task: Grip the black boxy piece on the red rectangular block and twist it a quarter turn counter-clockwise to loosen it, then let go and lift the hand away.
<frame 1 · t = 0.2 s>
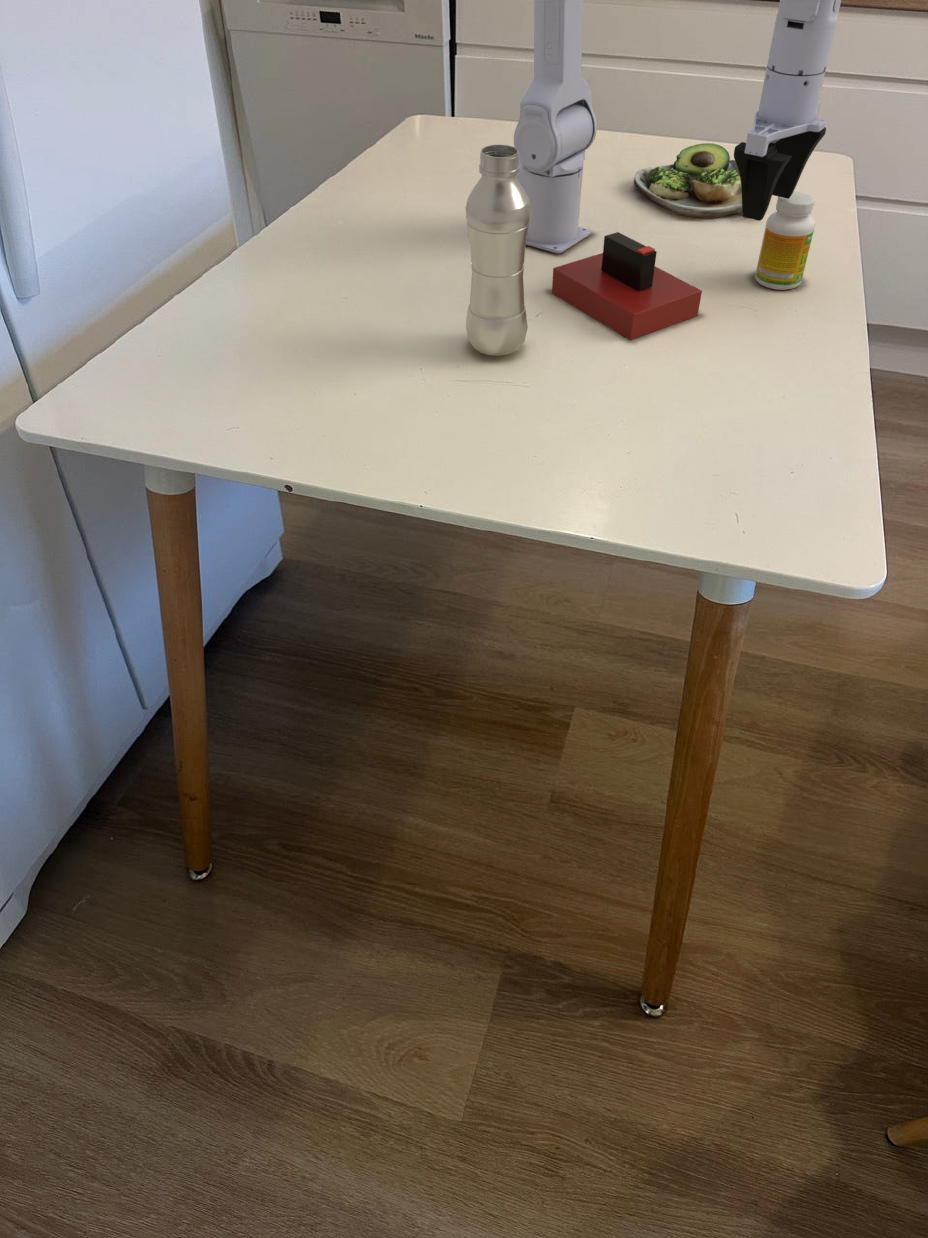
hand: (767, 206, 106), 10 cm above the table, tool pointing down, fingers open, 7 cm apart
black boxy piece: (628, 260, 107), point 5 cm above the table, hinge at 0.0°
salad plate: (699, 194, 135), on the table
supplement bottle: (777, 282, 115), on the table
red rectangular block: (623, 304, 111), on the table
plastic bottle: (496, 349, 104), on the table
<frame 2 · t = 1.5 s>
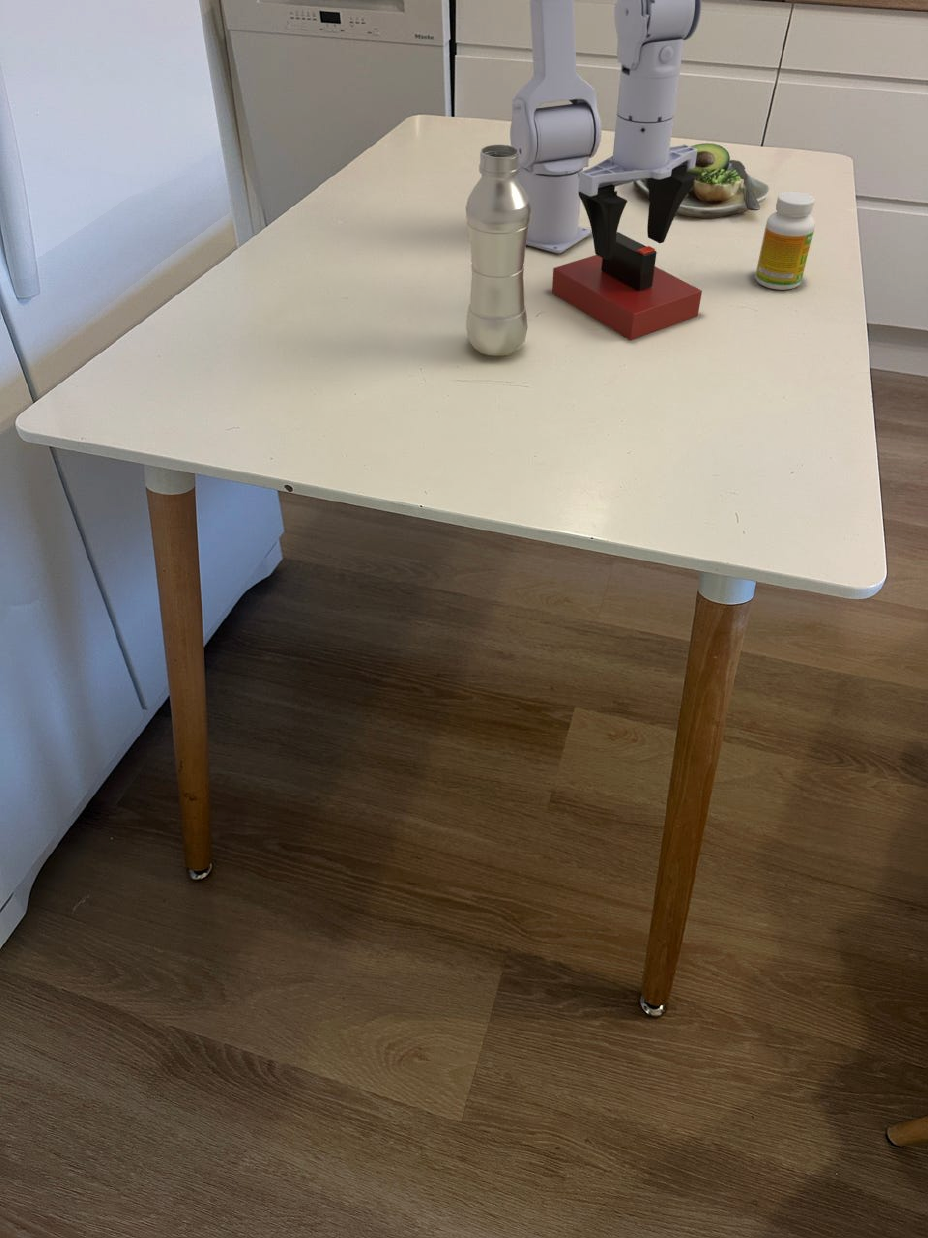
hand: (629, 247, 106), 7 cm above the table, tool pointing down, fingers open, 7 cm apart
nothing on the table moved.
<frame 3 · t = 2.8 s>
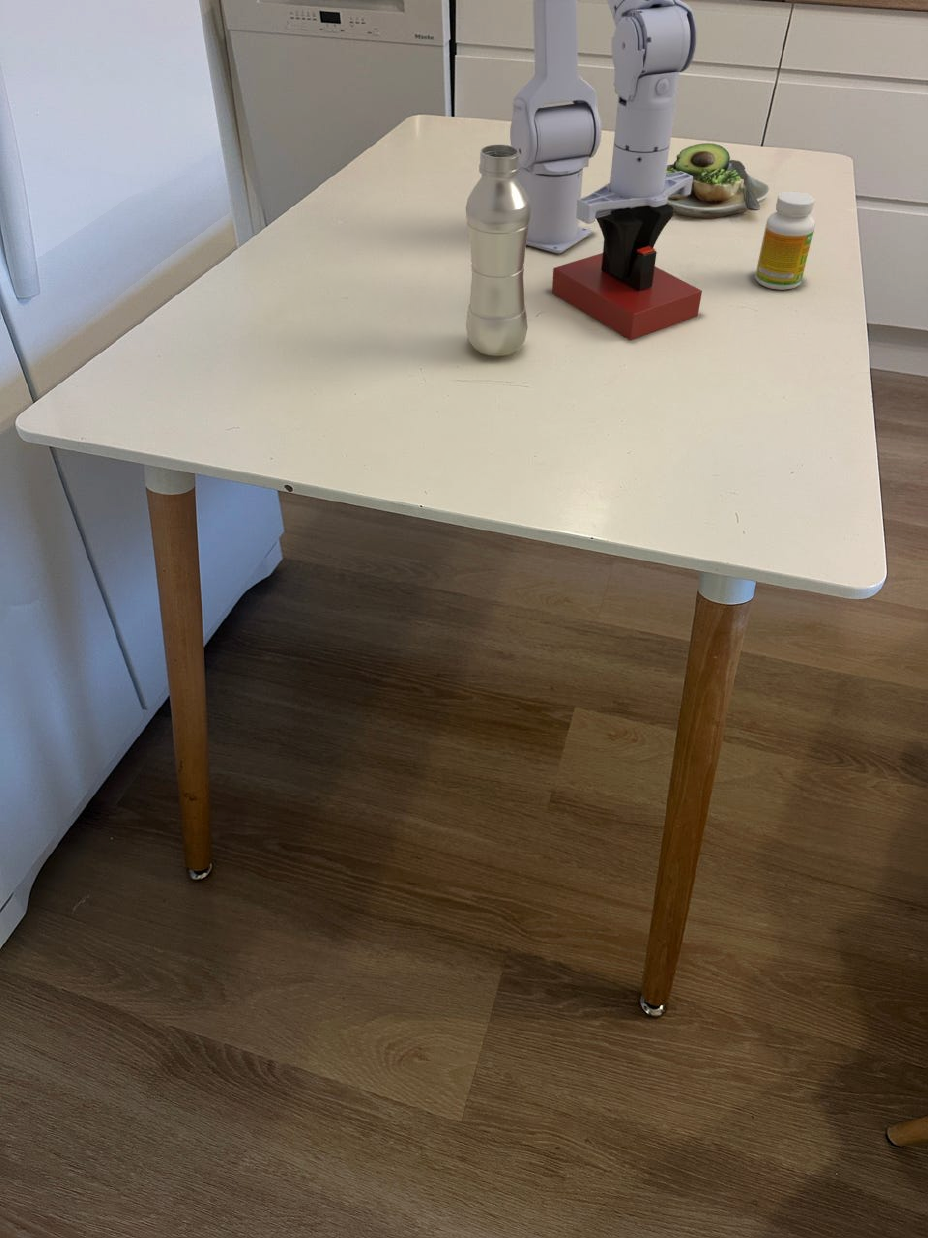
hand: (626, 271, 108), 4 cm above the table, tool pointing down, fingers closed on black boxy piece, 2 cm apart
black boxy piece: (628, 260, 107), point 5 cm above the table, hinge at 0.0°, touching gripper
everything else where it was.
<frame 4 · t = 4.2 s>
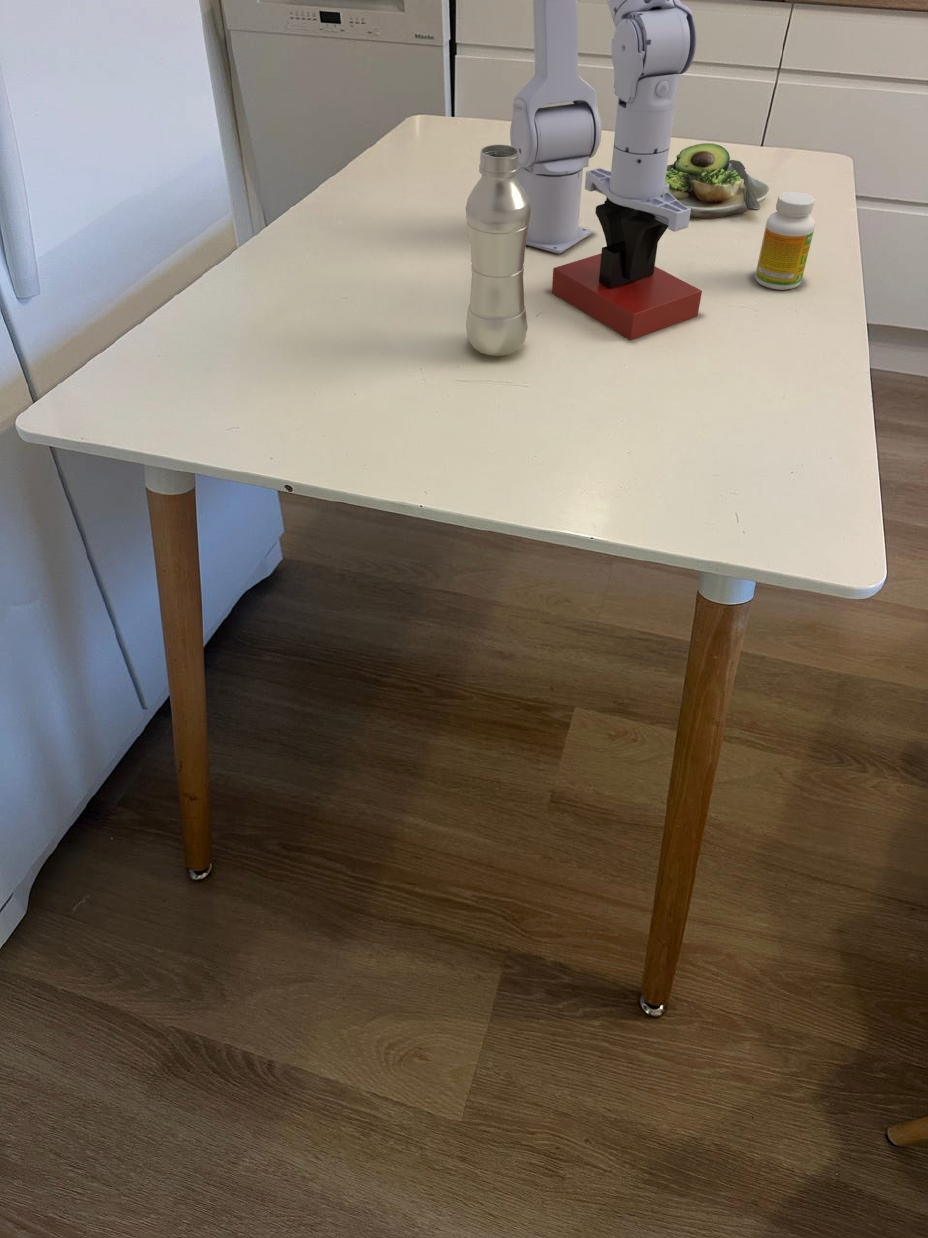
hand: (626, 273, 108), 4 cm above the table, tool pointing down, fingers closed on black boxy piece, 2 cm apart
black boxy piece: (628, 260, 107), point 5 cm above the table, hinge at 90.0°, touching gripper
everything else where it was.
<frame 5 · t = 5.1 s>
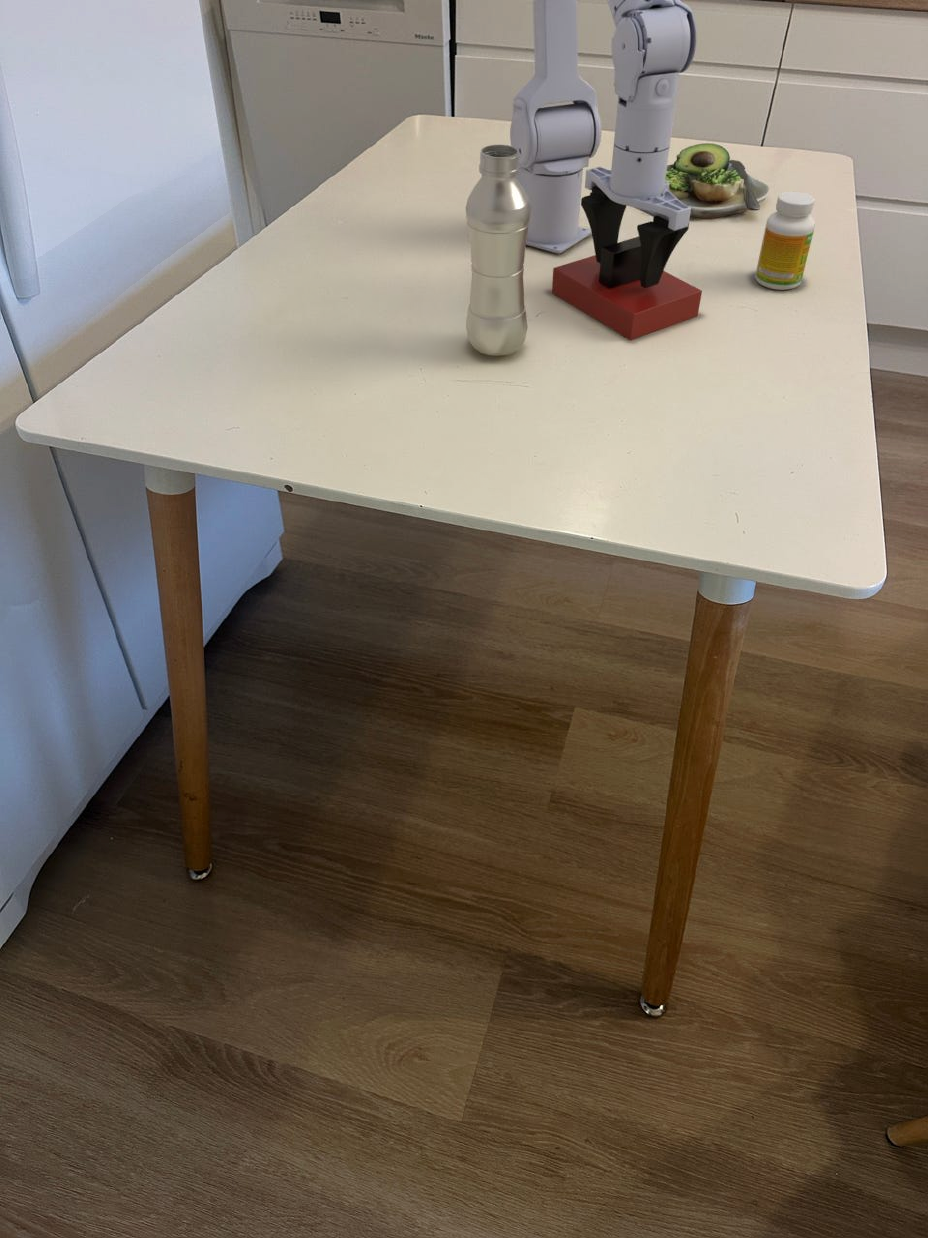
hand: (626, 272, 108), 4 cm above the table, tool pointing down, fingers open, 7 cm apart
black boxy piece: (628, 260, 107), point 5 cm above the table, hinge at 90.0°
everything else where it was.
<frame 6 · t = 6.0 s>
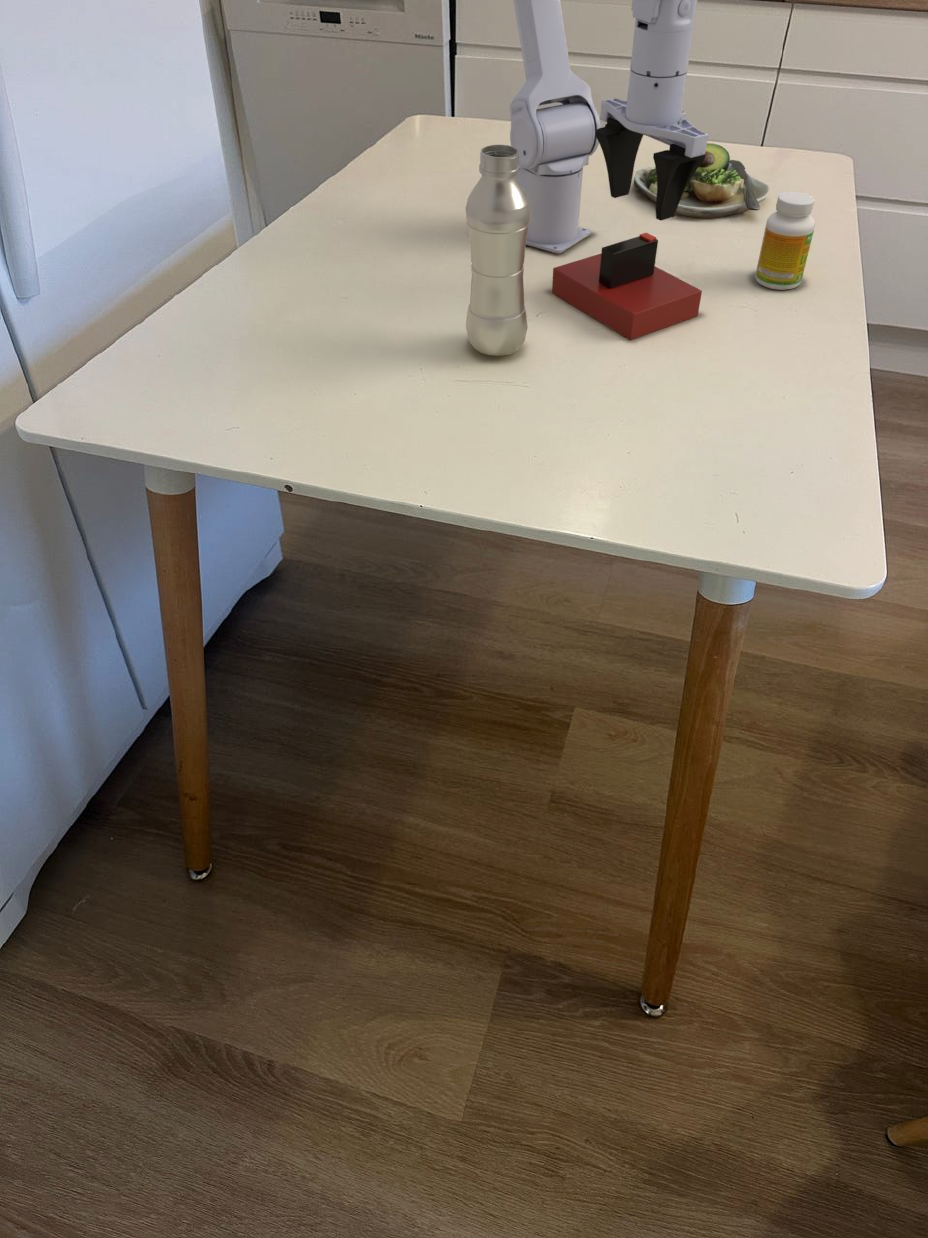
hand: (641, 206, 107), 10 cm above the table, tool pointing down, fingers open, 7 cm apart
nothing on the table moved.
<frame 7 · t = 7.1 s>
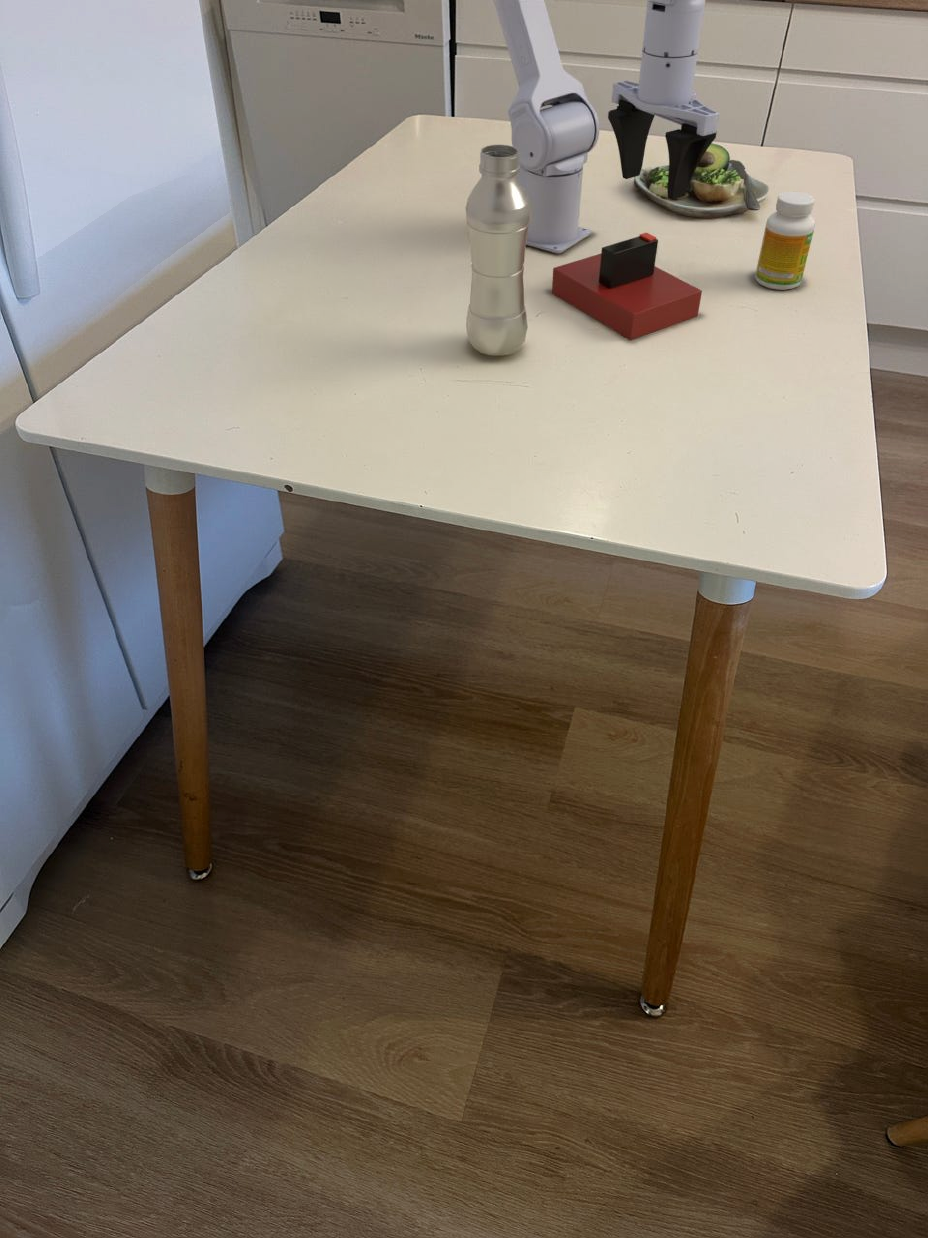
hand: (653, 186, 109), 10 cm above the table, tool pointing down, fingers open, 7 cm apart
nothing on the table moved.
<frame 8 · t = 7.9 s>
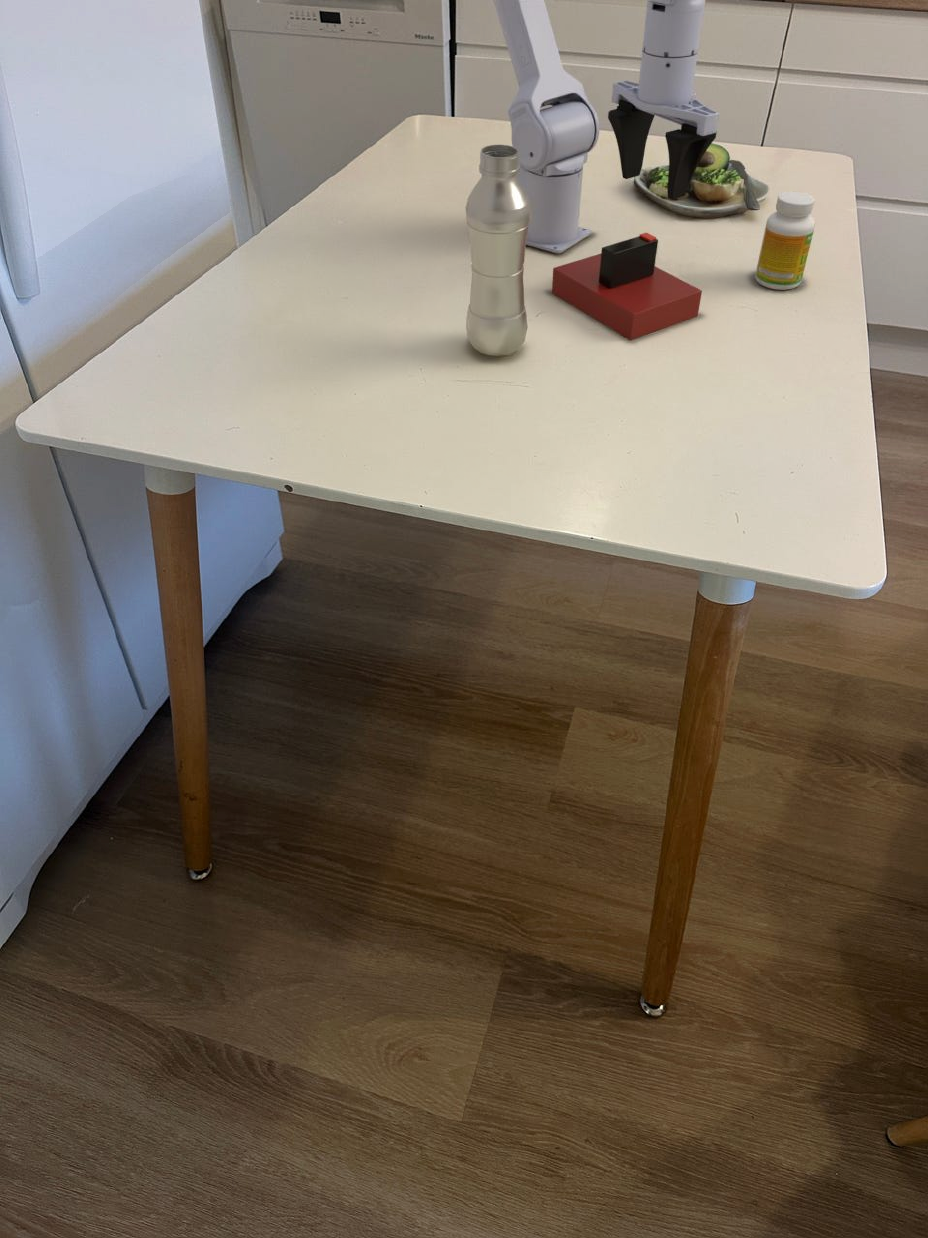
hand: (653, 186, 109), 10 cm above the table, tool pointing down, fingers open, 7 cm apart
nothing on the table moved.
at the end: black boxy piece at +90° (first picture: +0°); the gripper is holding nothing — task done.
